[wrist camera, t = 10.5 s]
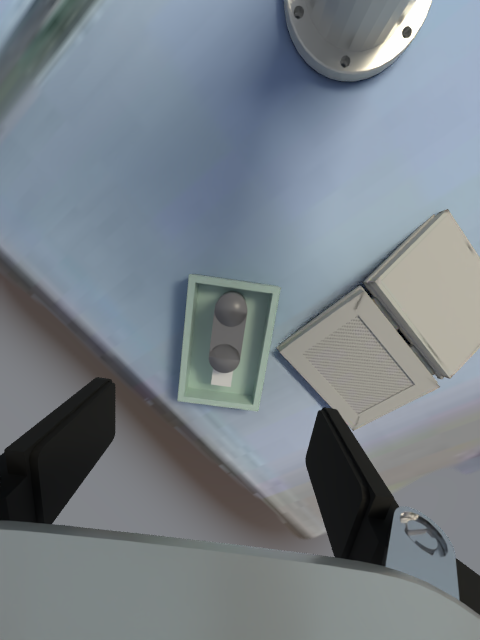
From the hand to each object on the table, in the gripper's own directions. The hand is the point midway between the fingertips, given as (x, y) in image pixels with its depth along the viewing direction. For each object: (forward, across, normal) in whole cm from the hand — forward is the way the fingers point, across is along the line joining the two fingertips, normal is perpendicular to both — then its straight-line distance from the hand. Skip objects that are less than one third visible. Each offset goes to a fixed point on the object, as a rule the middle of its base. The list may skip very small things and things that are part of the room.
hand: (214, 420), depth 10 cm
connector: (+16, 0, +1) cm, 16 cm away
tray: (+17, 0, +2) cm, 17 cm away
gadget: (+18, -19, -2) cm, 26 cm away
